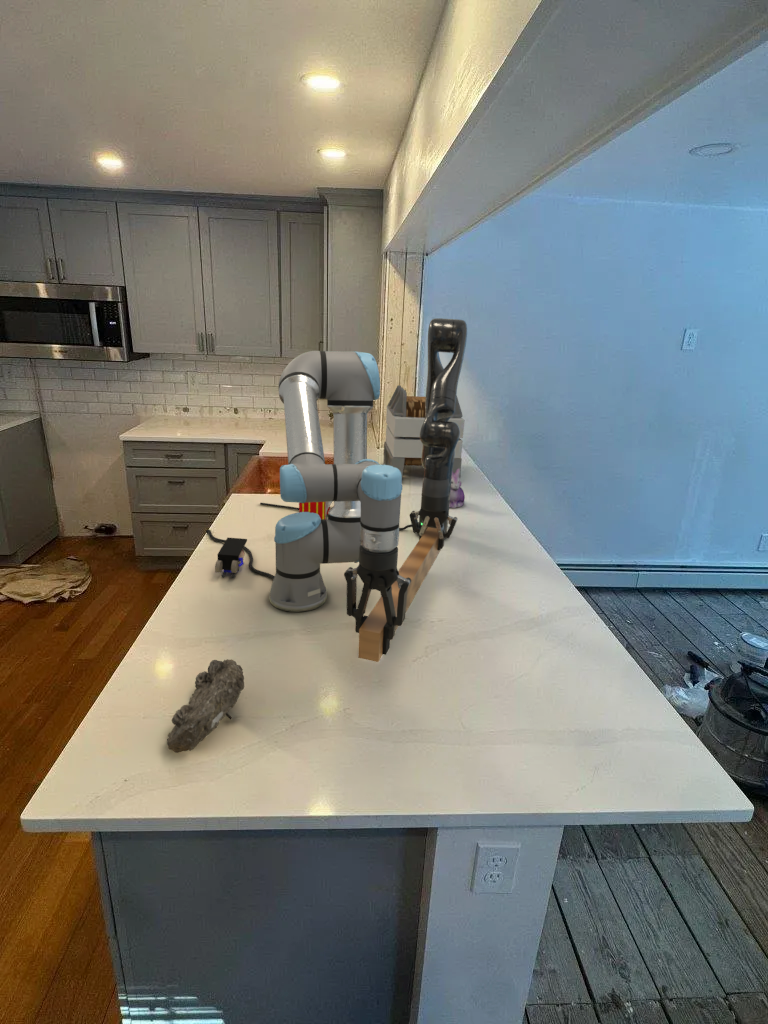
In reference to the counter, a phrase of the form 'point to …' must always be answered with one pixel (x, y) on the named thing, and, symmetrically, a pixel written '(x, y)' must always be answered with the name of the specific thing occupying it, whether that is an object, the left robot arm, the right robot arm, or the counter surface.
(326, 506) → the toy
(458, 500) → the figurine
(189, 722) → the fossil
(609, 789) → the counter surface
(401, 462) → the grey crate stand
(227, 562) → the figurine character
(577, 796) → the counter surface
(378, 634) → the bar
